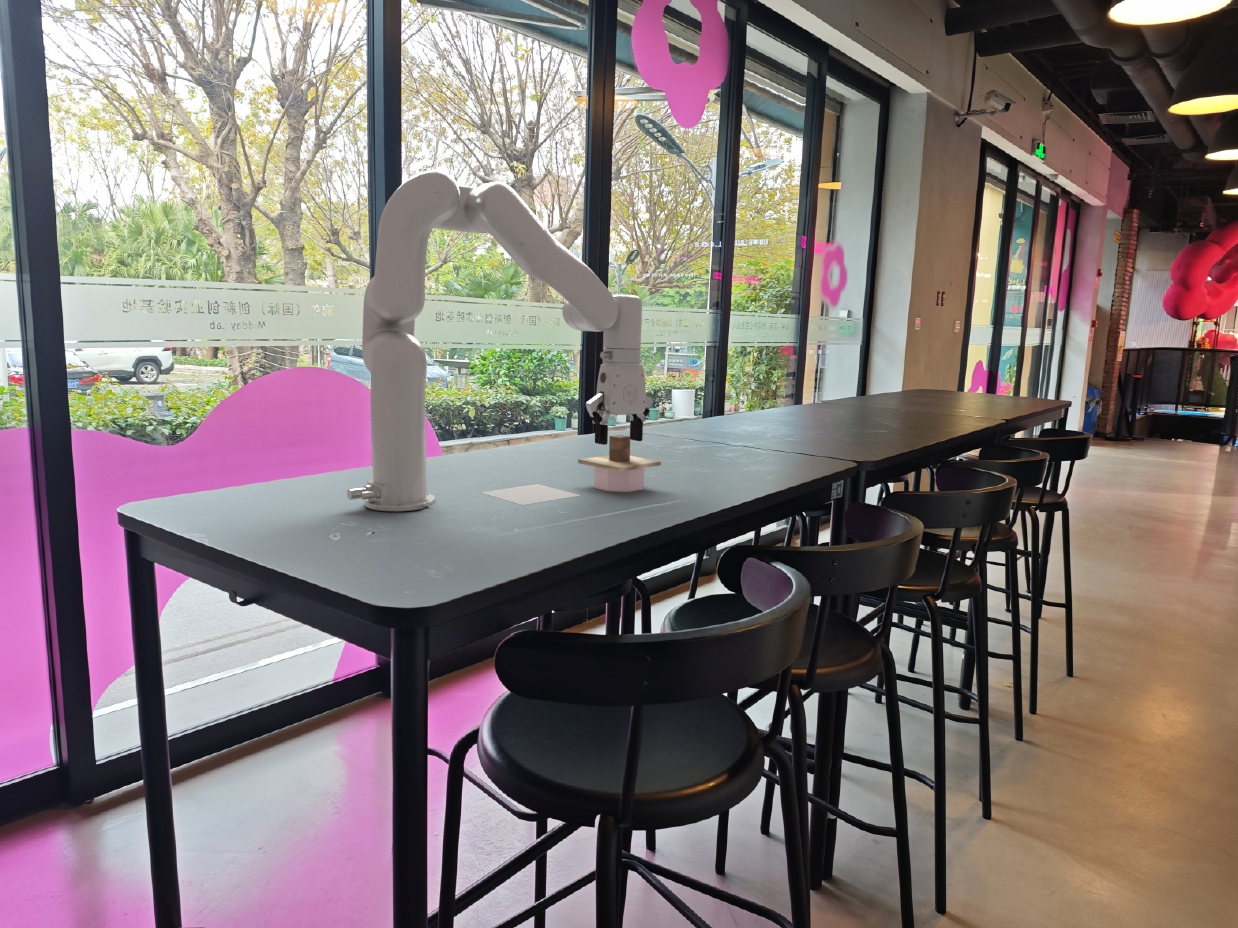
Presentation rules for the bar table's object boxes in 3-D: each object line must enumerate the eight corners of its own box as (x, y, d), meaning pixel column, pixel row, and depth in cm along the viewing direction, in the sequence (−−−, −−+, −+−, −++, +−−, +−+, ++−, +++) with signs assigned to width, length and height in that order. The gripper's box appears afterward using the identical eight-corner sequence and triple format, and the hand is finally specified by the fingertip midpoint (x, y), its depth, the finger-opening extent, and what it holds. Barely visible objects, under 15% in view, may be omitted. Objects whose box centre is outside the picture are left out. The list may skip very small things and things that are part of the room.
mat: (522, 507, 153) (522, 505, 153) (479, 494, 163) (479, 492, 163) (580, 497, 163) (581, 495, 163) (537, 485, 173) (537, 483, 173)
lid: (617, 471, 163) (618, 442, 162) (578, 463, 171) (578, 435, 170) (660, 465, 171) (661, 437, 170) (621, 457, 179) (621, 430, 178)
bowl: (617, 495, 165) (618, 470, 164) (584, 487, 172) (585, 463, 171) (653, 489, 172) (654, 465, 171) (620, 481, 179) (621, 458, 178)
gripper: (601, 359, 159) (599, 447, 162) (665, 358, 171) (661, 441, 173) (576, 356, 164) (574, 443, 167) (639, 356, 176) (636, 437, 179)
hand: (618, 442), depth 170 cm, fingers open, 9 cm apart
